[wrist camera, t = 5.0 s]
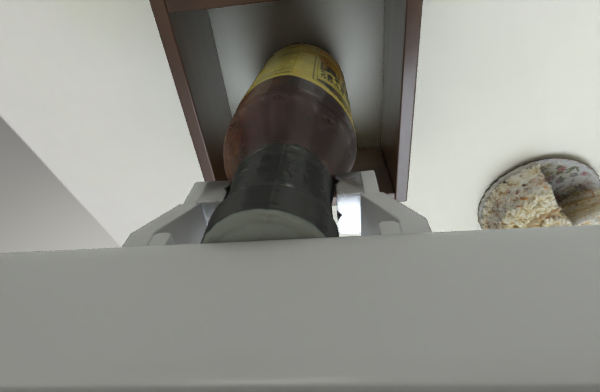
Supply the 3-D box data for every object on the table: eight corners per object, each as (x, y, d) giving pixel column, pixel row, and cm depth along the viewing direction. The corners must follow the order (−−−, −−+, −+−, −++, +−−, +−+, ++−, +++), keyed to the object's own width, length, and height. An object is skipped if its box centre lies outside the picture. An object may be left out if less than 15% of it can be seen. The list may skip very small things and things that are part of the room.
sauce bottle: (346, 116, 28) (385, 344, 11) (269, 125, 29) (203, 352, 12) (339, 27, 24) (383, 174, 8) (252, 40, 25) (125, 200, 9)
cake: (549, 249, 35) (578, 294, 31) (456, 228, 35) (472, 272, 30) (628, 171, 29) (676, 214, 25) (516, 144, 28) (546, 184, 24)
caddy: (398, -39, 22) (426, -37, 16) (390, 153, 29) (406, 201, 24) (190, -13, 23) (147, -3, 17) (233, 165, 31) (213, 212, 25)
